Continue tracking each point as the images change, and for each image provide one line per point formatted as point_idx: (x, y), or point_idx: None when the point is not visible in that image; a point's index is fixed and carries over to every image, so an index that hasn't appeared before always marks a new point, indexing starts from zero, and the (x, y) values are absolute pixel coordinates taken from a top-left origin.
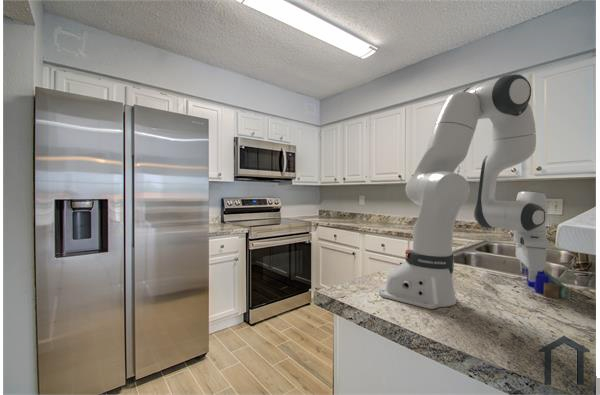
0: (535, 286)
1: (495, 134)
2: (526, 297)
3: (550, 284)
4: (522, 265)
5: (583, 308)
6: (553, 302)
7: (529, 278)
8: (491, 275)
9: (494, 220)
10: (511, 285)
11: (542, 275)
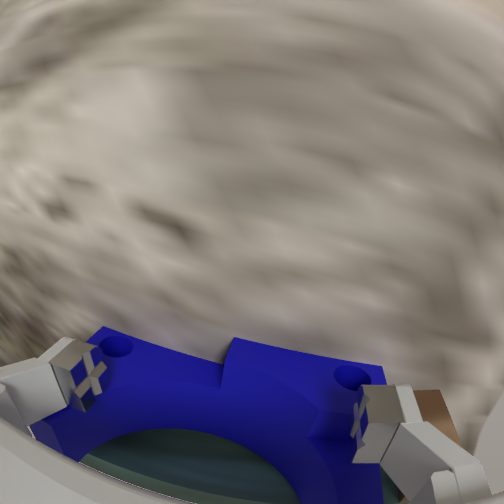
0: (122, 357)
1: None
2: (4, 235)
3: None
4: (419, 458)
5: None
6: (19, 334)
7: (53, 348)
8: (480, 97)
9: None
10: (188, 200)
11: (33, 431)
